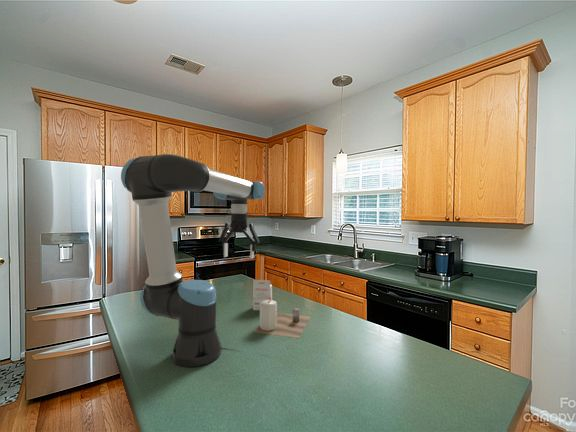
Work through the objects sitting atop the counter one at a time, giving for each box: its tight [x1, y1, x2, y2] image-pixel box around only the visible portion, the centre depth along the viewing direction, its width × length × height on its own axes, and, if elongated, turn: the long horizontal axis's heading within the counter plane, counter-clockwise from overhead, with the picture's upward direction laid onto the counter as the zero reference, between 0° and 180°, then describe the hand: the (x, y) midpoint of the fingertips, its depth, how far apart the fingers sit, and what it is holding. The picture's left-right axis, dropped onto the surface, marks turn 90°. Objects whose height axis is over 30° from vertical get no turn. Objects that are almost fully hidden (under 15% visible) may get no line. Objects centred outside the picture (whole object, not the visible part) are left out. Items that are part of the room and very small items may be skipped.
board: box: [253, 307, 312, 339], centre depth 116 cm, size 22×18×6 cm
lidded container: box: [259, 299, 278, 331], centre depth 112 cm, size 6×6×10 cm
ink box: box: [252, 279, 273, 311], centre depth 133 cm, size 9×5×15 cm, turn 84°
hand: (238, 257), depth 135 cm, fingers open, 13 cm apart
